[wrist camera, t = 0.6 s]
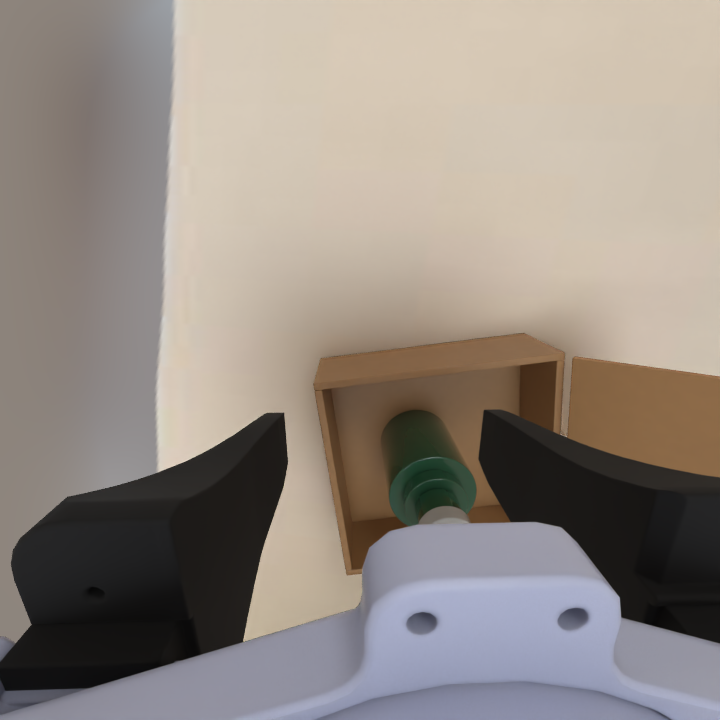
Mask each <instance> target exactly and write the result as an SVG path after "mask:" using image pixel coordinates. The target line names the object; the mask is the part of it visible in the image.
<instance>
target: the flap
mask: <svg viewBox="0 0 720 720" xmlns="http://www.w3.org/2000/svg"><path fill="white" fill-rule="evenodd" d="M567 438H569V439H572V440H574V441H577V442H579V443H582V444H584V445H587V446H590V447H593V448H596V449H599V450H602V451H605V452H608V453H611V454H614V455H618V456H621V457H624V458H628V459H632V460H636V461H640V462H644V463H647V464H651V465H656V466H660V467H665V468H669V469H674V470H679V471H685V472H690V473H695V474H700V475H706V476H714V477H720V377H719V376H712V375H705V374H697V373H690V372H683V371H676V370H669V369H662V368H654V367H647V366H640V365H633V364H626V363H618V362H611V361H604V360H597V359H590V358H583V357H573V359H572V375H571V390H570V406H569V422H568V437H567Z"/></svg>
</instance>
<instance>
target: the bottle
mask: <svg viewBox="0 0 720 720" xmlns="http://www.w3.org/2000/svg"><path fill="white" fill-rule="evenodd" d="M380 443H381V451H382V458H383V464H384V471H385V477H386V484H387V490H388V497H389V503H390V506H391V509H392V511H393V513H394V514H395V515H396V517H397V518H398V519H399V520H400V521H401V522H403V523H404V524H406V525H408V526H413V525H423V524H466V523H471V520H470V518H469V517H468V515H467V514H468V513H469V511H470V510H471V509H472V507H473V505H474V502H475V499H476V494H477V487H476V482H475V479H474V477H473V475H472V473H471V471H470V469H469V467H468V465H467V464H466V462H465V460H464V458H463V456H462V454H461V453H460V451H459V449H458V447H457V445H456V443H455V441H454V440H453V438H452V436H451V434H450V432H449V430H448V429H447V427H446V425H445V423H444V422H443V421H442V420H441V419H440V418H439V417H438V416H436V415H435V414H433V413H431V412H428V411H424V410H410V411H406V412H403V413H400V414H398V415H397V416H395V417H394V418H392V419H391V420H390V421H389V422H388V423H387V425H386V426H385V428H384V429H383V432H382V435H381V441H380Z"/></svg>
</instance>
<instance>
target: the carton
mask: <svg viewBox="0 0 720 720" xmlns="http://www.w3.org/2000/svg"><path fill="white" fill-rule="evenodd" d="M564 359H565V353H564V352H562V351H560V350H558V349H556V348H554V347H552V346H550V345H548V344H545V343H543V342H541V341H539V340H537V339H535V338H533V337H531V336H529V335H527V334H525V333H521V334H513V335H505V336H497V337H488V338H480V339H472V340H464V341H456V342H448V343H440V344H432V345H424V346H416V347H408V348H400V349H392V350H384V351H376V352H368V353H360V354H352V355H344V356H336V357H328V358H321V359H320V362H319V366H318V369H317V373H316V377H315V380H314V384H313V385H314V390H315V396H316V402H317V408H318V414H319V419H320V425H321V431H322V437H323V442H324V448H325V454H326V460H327V465H328V471H329V477H330V483H331V488H332V494H333V500H334V505H335V511H336V517H337V523H338V528H339V534H340V540H341V546H342V551H343V557H344V563H345V569H346V574H347V575H355V574H362V568H363V565H364V562H365V559H366V556H367V553H368V550H369V547H371V546H372V545H373V544H374V543H376V542H377V541H378V540H379V539H380V538H382V537H383V536H384V535H385V534H387V533H388V532H389V531H392V530H397V529H401V528H405V527H409V526H408V525H406V524H404V523H403V522H401V521H400V520H399V519H398V518H397V517H396V515H395V514H394V513H393V511H392V509H391V506H390V503H389V497H388V490H387V484H386V477H385V471H384V464H383V458H382V451H381V443H380V441H381V435H382V432H383V429H384V428H385V426H386V425H387V423H388V422H389V421H390V420H391V419H392V418H394V417H395V416H397V415H398V414H400V413H403V412H406V411H410V410H424V411H428V412H431V413H433V414H435V415H436V416H438V417H439V418H440V419H441V420H442V421H443V422H444V423H445V425H446V427H447V429H448V430H449V432H450V434H451V436H452V438H453V440H454V441H455V443H456V445H457V447H458V449H459V451H460V453H461V454H462V456H463V458H464V460H465V462H466V464H467V465H468V467H469V469H470V471H471V473H472V475H473V477H474V479H475V482H476V487H477V494H476V499H475V502H474V505H473V507H472V509H471V510H470V511H469V513H468V514H467V515H468V517H469V518H470V520H471V523H510V520H509V518H508V517H507V515H506V513H505V512H504V510H503V508H502V507H501V505H500V503H499V501H498V500H497V498H496V496H495V495H494V493H493V491H492V489H491V488H490V486H489V484H488V482H487V480H486V477H485V475H484V473H483V470H482V468H481V465H480V462H479V460H478V457H479V448H480V439H481V430H482V421H483V412H484V410H492V409H501V410H504V411H507V412H510V413H513V414H515V415H517V416H519V417H522V418H524V419H526V420H528V421H530V422H533V423H535V424H537V425H539V426H541V427H544V428H546V429H548V430H550V431H553V432H555V433H557V434H559V435H560V430H561V412H562V395H563V377H564Z"/></svg>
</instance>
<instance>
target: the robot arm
mask: <svg viewBox="0 0 720 720" xmlns="http://www.w3.org/2000/svg"><path fill="white" fill-rule="evenodd" d="M478 460H479V462H480V465H481V468H482V470H483V473H484V475H485V477H486V480H487V482H488V484H489V486H490V488H491V489H492V491H493V493H494V495H495V496H496V498H497V500H498V501H499V503H500V505H501V507H502V508H503V510H504V512H505V513H506V515H507V517H508V518H509V520H510V523H466V524H423V525H413V526H409V527H405V528H401V529H397V530H392V531H389V532H388V533H387V534H385V535H384V536H383V537H382V538H380V539H379V540H378V541H377V542H376V543H374V544H373V545H372V546H371V547H369V550H368V553H367V556H366V559H365V562H364V565H363V568H362V596H361V602H360V603H359V605H358V606H357V607H356V608H355V609H351V610H348V611H345V612H341V613H338V614H335V615H331V616H328V617H325V618H321V619H318V620H315V621H311V622H308V623H305V624H301V625H298V626H295V627H291V628H288V629H285V630H281V631H278V632H275V633H271V634H268V635H265V636H262V637H258V638H255V639H252V640H248V641H245V642H243V638H244V633H245V628H246V623H247V617H248V613H249V608H250V603H251V598H252V593H253V589H254V584H255V579H256V575H257V571H258V566H259V562H260V557H261V553H262V550H263V546H264V543H265V540H266V537H267V534H268V531H269V528H270V525H271V522H272V519H273V516H274V513H275V510H276V507H277V505H278V502H279V499H280V496H281V493H282V489H283V486H284V481H285V476H286V471H287V465H288V457H287V444H286V431H285V418H284V413H266V414H264V415H262V416H261V417H259V418H258V419H256V420H255V421H254V422H252V423H251V424H249V425H248V426H246V427H245V428H243V429H242V430H240V431H239V432H238V433H236V434H235V435H233V436H231V437H230V438H228V439H226V440H225V441H223V442H222V443H220V444H218V445H217V446H215V447H213V448H212V449H210V450H208V451H206V452H204V453H202V454H200V455H198V456H196V457H194V458H192V459H190V460H188V461H186V462H183V463H181V464H178V465H176V466H173V467H171V468H168V469H166V470H163V471H161V472H158V473H156V474H153V475H150V476H147V477H144V478H141V479H138V480H134V481H131V482H128V483H124V484H121V485H117V486H113V487H110V488H105V489H101V490H97V491H93V492H88V493H84V494H79V495H75V496H70V497H67V498H66V499H64V500H63V501H62V502H61V503H60V504H59V505H58V506H56V507H55V508H54V509H53V510H52V511H51V512H50V513H48V514H47V515H46V516H45V517H44V518H43V519H42V520H40V521H39V522H38V523H37V524H36V525H35V526H34V527H32V528H31V529H30V530H29V531H28V532H27V533H26V534H25V535H23V536H22V537H21V538H20V539H19V541H18V543H17V545H16V546H15V548H14V549H13V554H12V561H11V567H12V571H13V576H14V581H15V583H16V586H17V588H18V591H19V593H20V596H21V598H22V601H23V604H24V606H25V609H26V611H27V614H28V616H29V619H30V622H31V624H32V625H31V626H30V627H29V628H28V630H27V631H26V632H25V633H24V634H23V636H22V637H21V638H20V639H19V640H18V642H17V643H15V642H14V641H12V640H11V639H9V638H7V637H2V636H0V720H720V477H714V476H706V475H700V474H695V473H690V472H685V471H679V470H674V469H669V468H665V467H660V466H656V465H651V464H647V463H644V462H640V461H636V460H632V459H628V458H624V457H621V456H618V455H614V454H611V453H608V452H605V451H602V450H599V449H596V448H593V447H590V446H587V445H584V444H582V443H579V442H577V441H574V440H572V439H569V438H567V437H564V436H562V435H559V434H557V433H555V432H553V431H550V430H548V429H546V428H544V427H541V426H539V425H537V424H535V423H533V422H530V421H528V420H526V419H524V418H522V417H519V416H517V415H515V414H513V413H510V412H507V411H504V410H501V409H492V410H484V412H483V421H482V430H481V439H480V448H479V457H478Z"/></svg>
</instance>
